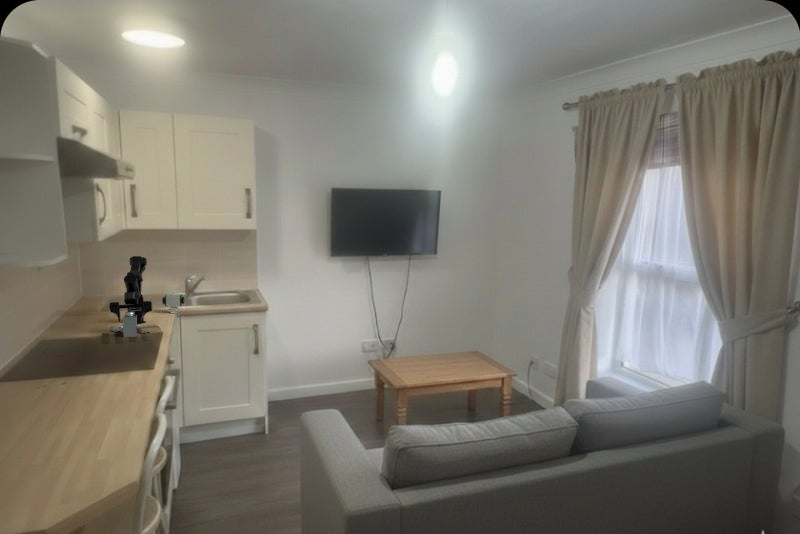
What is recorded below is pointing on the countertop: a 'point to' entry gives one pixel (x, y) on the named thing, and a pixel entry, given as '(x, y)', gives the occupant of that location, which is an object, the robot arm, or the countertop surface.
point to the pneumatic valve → (173, 302)
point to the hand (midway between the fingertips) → (130, 320)
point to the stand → (149, 328)
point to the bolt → (116, 329)
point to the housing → (130, 324)
